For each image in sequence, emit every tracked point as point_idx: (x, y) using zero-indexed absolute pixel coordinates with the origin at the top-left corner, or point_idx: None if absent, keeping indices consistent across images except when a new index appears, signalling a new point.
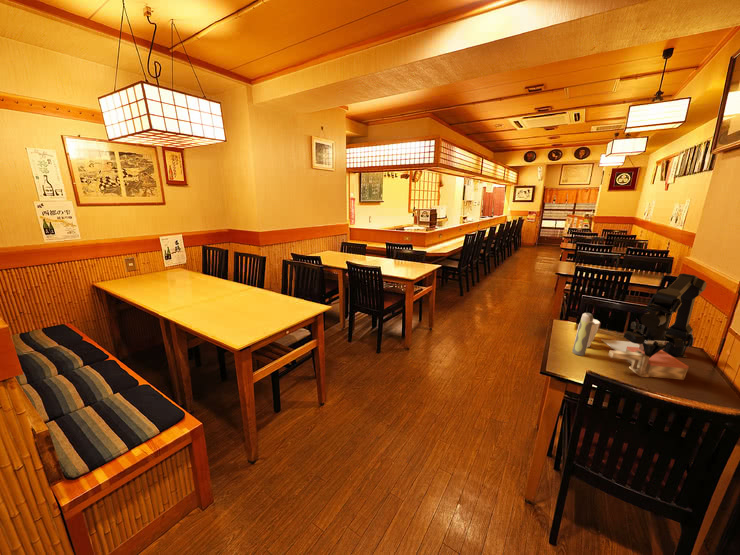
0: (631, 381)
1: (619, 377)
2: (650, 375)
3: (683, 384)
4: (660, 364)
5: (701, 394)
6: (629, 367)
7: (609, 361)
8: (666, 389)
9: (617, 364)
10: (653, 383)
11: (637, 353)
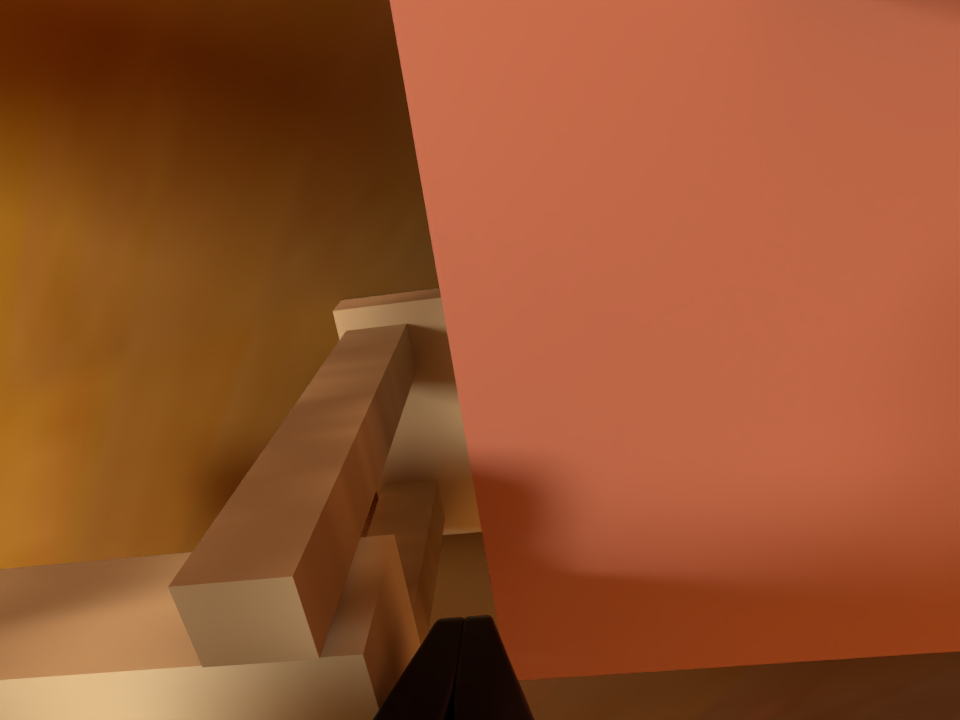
0: None
1: None
2: None
3: None
4: (709, 658)
5: (935, 713)
6: (341, 312)
7: (66, 141)
8: (567, 708)
9: (184, 225)
10: None
11: (174, 714)
